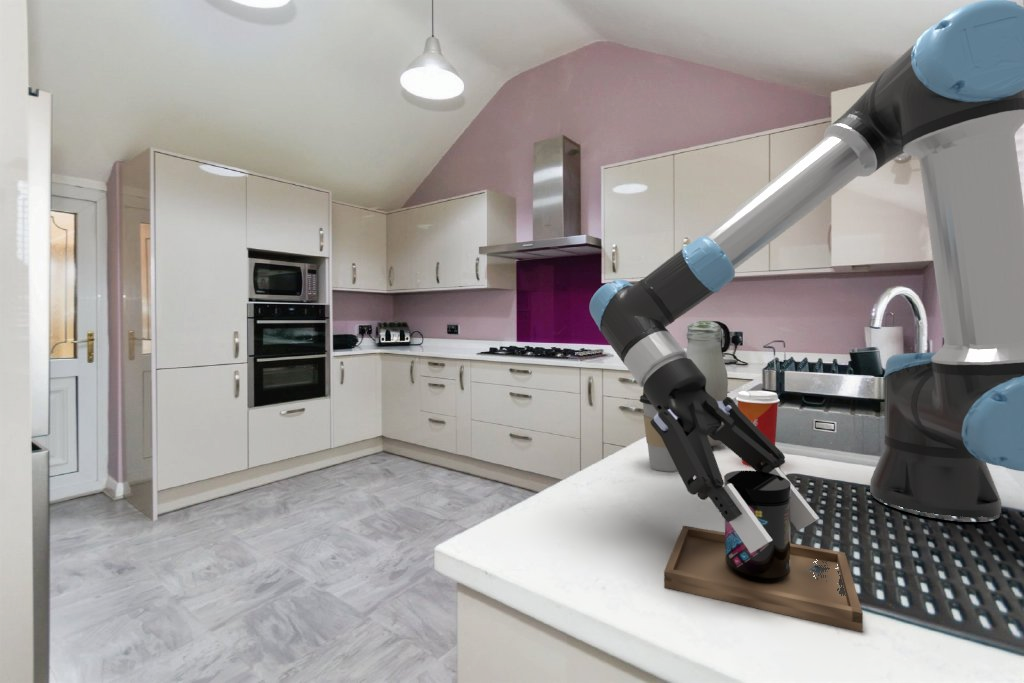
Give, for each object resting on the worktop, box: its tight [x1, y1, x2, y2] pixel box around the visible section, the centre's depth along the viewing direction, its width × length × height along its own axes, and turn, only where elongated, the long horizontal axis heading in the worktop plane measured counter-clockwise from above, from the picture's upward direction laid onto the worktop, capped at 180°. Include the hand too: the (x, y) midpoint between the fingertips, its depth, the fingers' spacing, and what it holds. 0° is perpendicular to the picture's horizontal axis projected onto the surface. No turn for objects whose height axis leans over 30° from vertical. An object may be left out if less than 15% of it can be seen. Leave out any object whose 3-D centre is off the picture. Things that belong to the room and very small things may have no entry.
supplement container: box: [723, 470, 792, 583], centre depth 56 cm, size 7×7×10 cm
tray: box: [663, 525, 864, 633], centre depth 56 cm, size 18×13×2 cm
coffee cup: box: [639, 392, 678, 473], centre depth 96 cm, size 9×9×15 cm
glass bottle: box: [685, 320, 729, 447], centre depth 110 cm, size 10×10×28 cm
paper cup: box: [735, 390, 780, 467], centre depth 97 cm, size 8×8×14 cm
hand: (786, 535), depth 53 cm, fingers open, 8 cm apart
